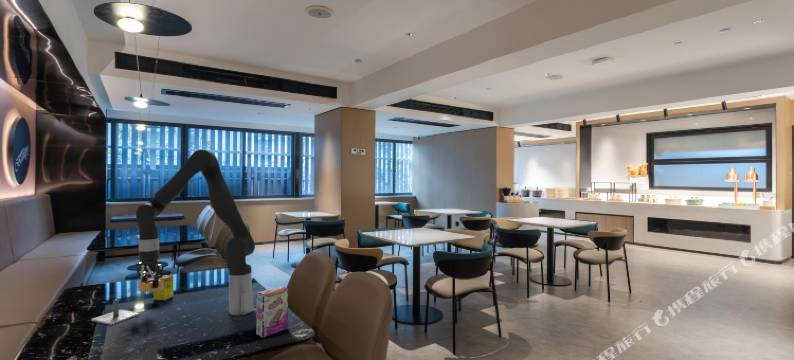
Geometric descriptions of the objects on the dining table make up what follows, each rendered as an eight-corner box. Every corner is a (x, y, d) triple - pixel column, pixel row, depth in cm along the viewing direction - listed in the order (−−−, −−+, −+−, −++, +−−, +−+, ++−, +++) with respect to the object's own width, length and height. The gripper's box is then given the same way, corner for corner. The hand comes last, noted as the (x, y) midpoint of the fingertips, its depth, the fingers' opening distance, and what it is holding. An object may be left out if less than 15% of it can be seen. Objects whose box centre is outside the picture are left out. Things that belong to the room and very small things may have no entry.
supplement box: (173, 297, 189) (173, 275, 188) (165, 301, 183) (164, 278, 182) (162, 297, 189) (162, 274, 189) (153, 301, 183) (153, 278, 183)
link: (161, 287, 170) (161, 280, 170) (148, 291, 165) (148, 283, 165) (151, 286, 172) (151, 278, 172) (138, 290, 167) (138, 282, 167)
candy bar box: (263, 338, 144) (263, 294, 143) (255, 335, 147) (255, 292, 146) (288, 329, 152) (288, 287, 152) (281, 326, 155) (281, 285, 155)
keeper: (139, 314, 166) (139, 296, 166) (110, 325, 155) (110, 306, 155) (121, 311, 170) (120, 293, 170) (91, 321, 159) (90, 302, 159)
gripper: (169, 248, 169) (170, 286, 170) (145, 246, 174) (146, 283, 175) (152, 251, 162) (153, 291, 163) (129, 249, 167) (130, 288, 168)
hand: (150, 287), depth 169 cm, fingers closed on link, 6 cm apart
